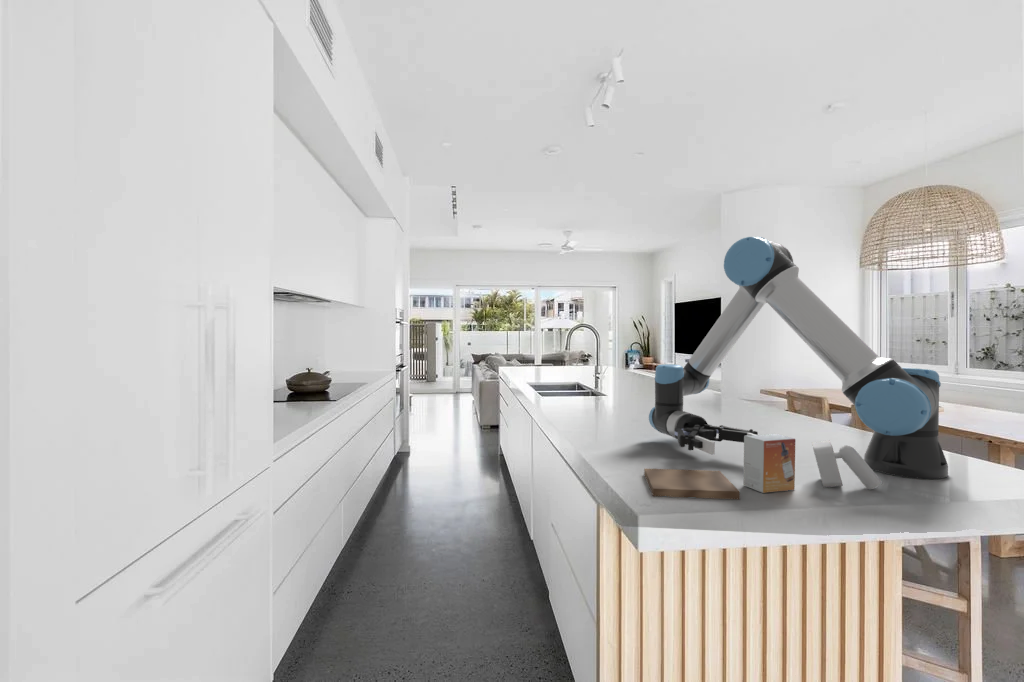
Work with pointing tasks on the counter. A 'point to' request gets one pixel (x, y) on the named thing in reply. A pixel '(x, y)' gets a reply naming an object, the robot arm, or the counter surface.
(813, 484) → the counter surface
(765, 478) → the small box
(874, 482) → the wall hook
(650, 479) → the board
